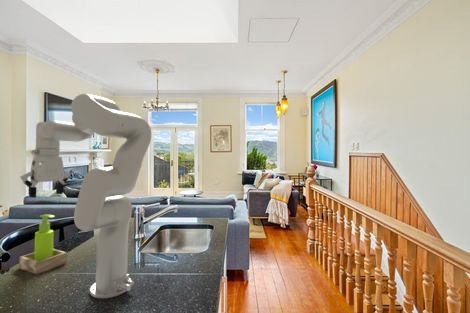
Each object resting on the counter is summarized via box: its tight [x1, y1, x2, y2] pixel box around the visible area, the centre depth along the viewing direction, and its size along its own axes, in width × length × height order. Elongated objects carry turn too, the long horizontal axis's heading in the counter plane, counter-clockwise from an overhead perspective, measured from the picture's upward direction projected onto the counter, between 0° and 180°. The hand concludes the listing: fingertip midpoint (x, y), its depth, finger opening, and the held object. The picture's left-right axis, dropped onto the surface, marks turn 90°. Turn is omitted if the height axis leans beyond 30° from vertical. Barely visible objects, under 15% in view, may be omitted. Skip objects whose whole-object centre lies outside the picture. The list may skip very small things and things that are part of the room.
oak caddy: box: [18, 248, 68, 275], centre depth 96 cm, size 12×11×4 cm
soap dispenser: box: [33, 213, 56, 261], centre depth 96 cm, size 6×7×20 cm
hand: (46, 195), depth 96 cm, fingers open, 9 cm apart
